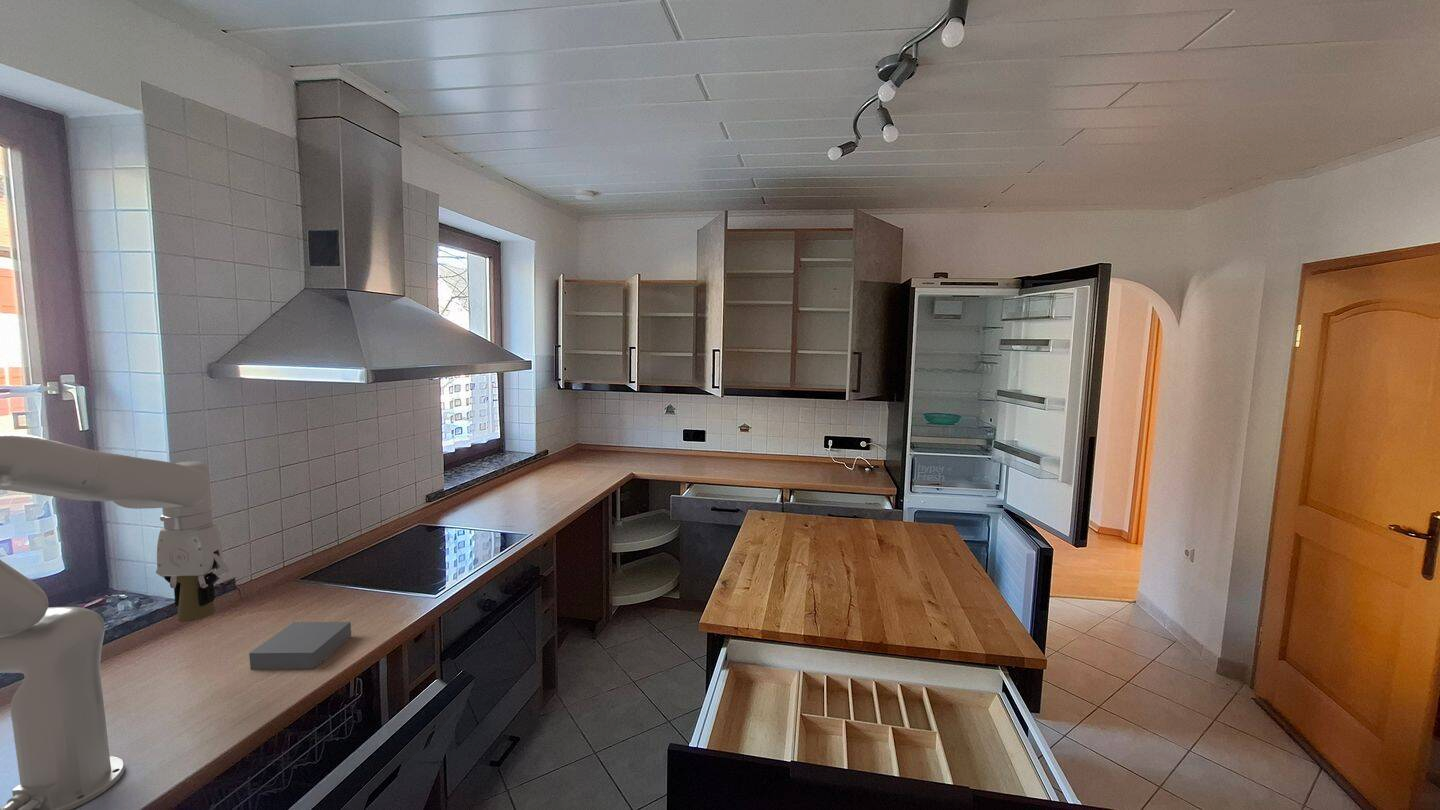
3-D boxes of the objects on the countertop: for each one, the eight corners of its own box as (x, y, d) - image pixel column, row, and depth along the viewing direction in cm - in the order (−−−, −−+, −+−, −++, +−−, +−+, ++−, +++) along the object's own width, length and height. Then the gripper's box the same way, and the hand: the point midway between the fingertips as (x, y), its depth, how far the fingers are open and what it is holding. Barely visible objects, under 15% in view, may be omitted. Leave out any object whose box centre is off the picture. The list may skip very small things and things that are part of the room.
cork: (212, 605, 122) (209, 558, 121) (218, 614, 119) (214, 565, 117) (174, 615, 118) (170, 566, 117) (179, 624, 114) (174, 573, 113)
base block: (313, 669, 126) (312, 652, 126) (250, 669, 126) (249, 653, 125) (351, 636, 140) (350, 621, 140) (294, 636, 139) (293, 622, 139)
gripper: (129, 526, 112) (136, 611, 114) (215, 526, 113) (221, 611, 115) (164, 515, 119) (170, 595, 121) (244, 515, 120) (250, 595, 122)
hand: (195, 602), depth 118 cm, fingers closed on cork, 4 cm apart
